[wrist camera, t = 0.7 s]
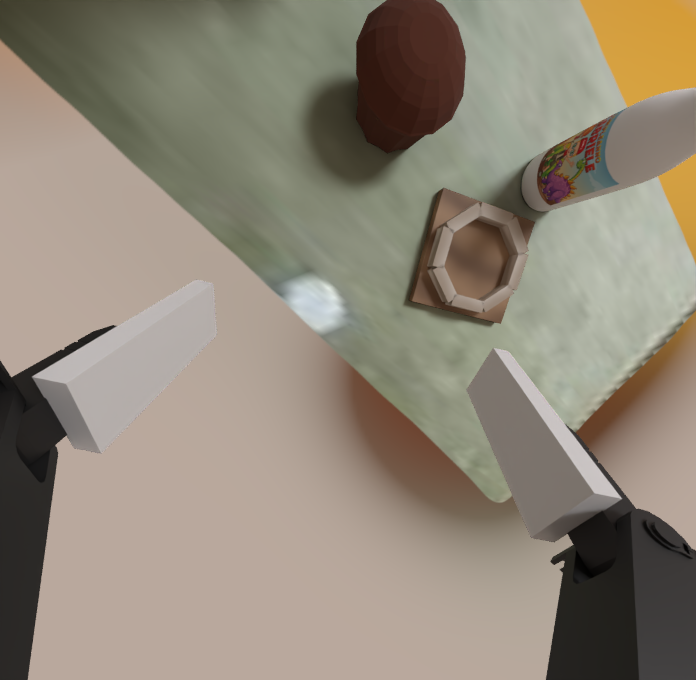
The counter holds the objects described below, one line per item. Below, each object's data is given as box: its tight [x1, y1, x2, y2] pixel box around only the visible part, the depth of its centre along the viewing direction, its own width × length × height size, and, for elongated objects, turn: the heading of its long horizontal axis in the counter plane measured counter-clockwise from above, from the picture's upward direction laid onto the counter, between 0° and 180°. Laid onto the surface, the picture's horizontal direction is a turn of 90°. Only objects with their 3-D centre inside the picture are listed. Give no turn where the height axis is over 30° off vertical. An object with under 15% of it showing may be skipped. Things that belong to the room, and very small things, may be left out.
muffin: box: [356, 0, 466, 153], centre depth 27 cm, size 12×11×10 cm
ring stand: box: [409, 188, 535, 324], centre depth 37 cm, size 15×15×3 cm
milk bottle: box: [521, 88, 696, 211], centre depth 28 cm, size 8×8×20 cm
